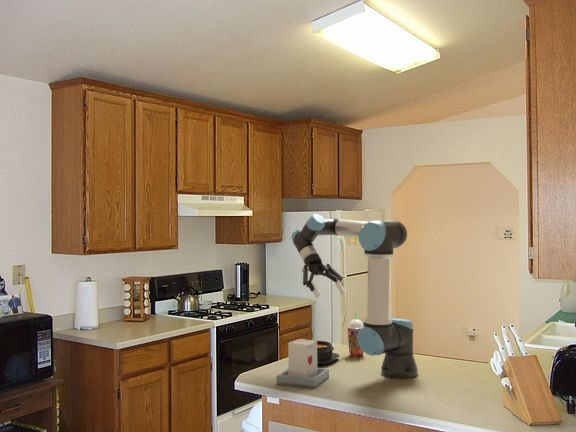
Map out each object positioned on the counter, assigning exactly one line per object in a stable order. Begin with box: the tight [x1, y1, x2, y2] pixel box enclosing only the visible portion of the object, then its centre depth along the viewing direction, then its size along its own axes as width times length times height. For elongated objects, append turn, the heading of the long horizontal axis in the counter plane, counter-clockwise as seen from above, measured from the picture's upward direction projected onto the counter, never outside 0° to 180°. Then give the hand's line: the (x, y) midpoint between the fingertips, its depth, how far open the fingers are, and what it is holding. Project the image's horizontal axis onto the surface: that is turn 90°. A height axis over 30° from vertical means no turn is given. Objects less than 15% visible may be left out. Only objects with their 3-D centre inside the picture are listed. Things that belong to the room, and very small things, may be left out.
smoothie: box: [346, 313, 365, 358], centre depth 282 cm, size 8×8×20 cm
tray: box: [276, 367, 330, 389], centre depth 241 cm, size 16×16×4 cm
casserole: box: [316, 340, 341, 366], centre depth 271 cm, size 25×19×8 cm
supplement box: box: [287, 338, 318, 378], centre depth 241 cm, size 9×9×15 cm
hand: (331, 295), depth 256 cm, fingers open, 13 cm apart
